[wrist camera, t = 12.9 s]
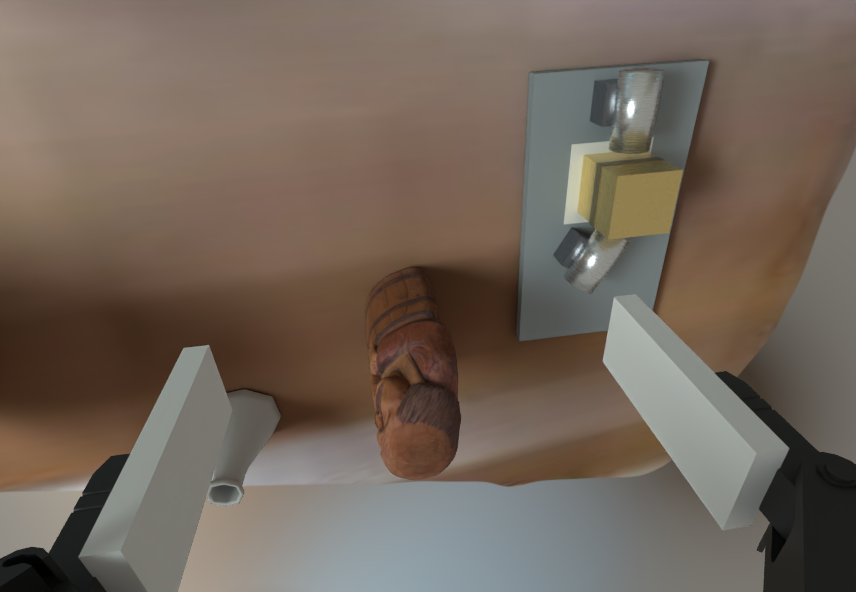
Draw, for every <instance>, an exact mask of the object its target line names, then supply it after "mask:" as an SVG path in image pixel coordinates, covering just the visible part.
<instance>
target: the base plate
mask: <svg viewBox="0 0 856 592" xmlns="http://www.w3.org/2000/svg"><path fill="white" fill-rule="evenodd" d="M708 64H709V60H702V59H696V60H683V61H669V62H656V63H643V64H630V65H616V66H603V67H590V68H577V69H563V70H550V71H537V72H529V90H528V110H527V129H526V148H525V168H524V187H523V206H522V225H521V245H520V264H519V283H518V303H517V322H516V336H517V338H518V340H519V341H527V340H535V339H543V338H551V337H559V336H567V335H575V334H583V333H591V332H599V331H607V330H608V328H609V322H610V317H611V311H612V305H613V299H614V297H616V296H625V295H633V294H636V295H637V296H638V297H639V298H640V299H641V300H642V301H643V302H644V303H645V304H646V305H647V306H648V307H649V308H650V309H651V310H652V311H653V307H654V302H655V298H656V294H657V289H658V285H659V280H660V276H661V272H662V267H663V263H664V258H665V254H666V249H667V245H668V241H669V236H670V232H671V227H672V223H673V219H674V214H675V210H676V205H677V201H678V197H679V192H680V188H681V183H682V179H683V174H684V170H685V166H686V161H687V157H688V152H689V148H690V144H691V139H692V135H693V130H694V126H695V122H696V117H697V113H698V108H699V104H700V99H701V95H702V91H703V86H704V82H705V77H706V73H707V69H708ZM634 68H653V69H662V70H664V76H663V80H664V85H663V90H662V95H661V101H660V106H659V112H658V117H657V122H655V124H654V130H653V135H652V141H651V146H650V150H649V151H648V152H647V153H650V154H652V155H654V156H656V157H660V158H662V159H664V161H666V162H668V163H670V164H672V165H674V166H676V167H679V168H681V169H683V173H682V178H681V182H680V187H679V191H678V196H677V200H676V205H675V209H674V214H673V218H672V223H671V227H670V232H669V233H664V234H655V235H646V236H637V237H628V239H630V240H631V242H630V244H629V245H628V246H627V248H626V249H625V250H624V252H623V253H622V254H621V256H620V257H619V258H618V260H617V261H616V263H615V264H614V265H613V267H612V268H611V269H610V271H609V272H608V273H607V275H606V276H605V277H604V279H603V280H602V282H601V283H600V284H599V286H598V287H597V288H596V290H595V291H594V292H593V294H588V293H585V292H583V291H581V290H579V289H577V288H576V287H574V286H573V285H572V284H570V283H569V282H568V281H567V280H566V279H565V278H564V274H565V272H566V271H567V269H568V268H566V267H564V266H562V265H561V264H560V263H559V262H558V261H557V259H556V258H555V257H554V256H553V254H554V252H555V251H556V249H557V248H558V246H559V245H560V243H561V242H562V240H563V239H564V237H565V236H566V234H567V233H568V231H569V230H570V228H571V227H572V228H574V229H576V230H578V231H581V232H583V233H585V234H587V235H589V236H591V235H592V233H593V232H594V230H595V229H596V228H595V227H592V226H591V225H590V224H589V222H588V221H587V220H586V219H585V218H583V217H582V216H581V215H580V214H579V213H578V212H577V210H578V201H579V192H580V184H581V175H582V166H583V157H584V155H588V154H598V153H609V152H613V151H611V150H609V149H608V147H609V140H610V133H611V126H607V127H601V126H599V125H596V124H594V123H592V122H590V114H591V105H592V97H593V88H594V81H596V80H609V79H618V76H619V71H620V70H624V69H634Z"/></svg>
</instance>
